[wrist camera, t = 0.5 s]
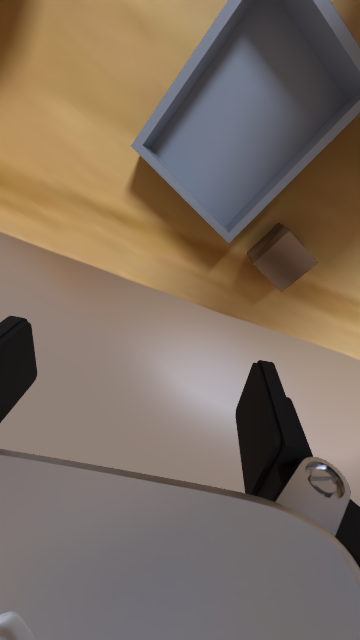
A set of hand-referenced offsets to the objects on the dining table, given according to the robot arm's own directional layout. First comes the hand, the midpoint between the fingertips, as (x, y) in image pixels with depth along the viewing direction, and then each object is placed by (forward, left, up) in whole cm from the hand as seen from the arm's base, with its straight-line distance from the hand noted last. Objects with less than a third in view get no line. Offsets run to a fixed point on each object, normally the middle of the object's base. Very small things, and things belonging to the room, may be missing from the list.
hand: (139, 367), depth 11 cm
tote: (-12, -3, -27) cm, 29 cm away
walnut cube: (-6, +10, -27) cm, 29 cm away
